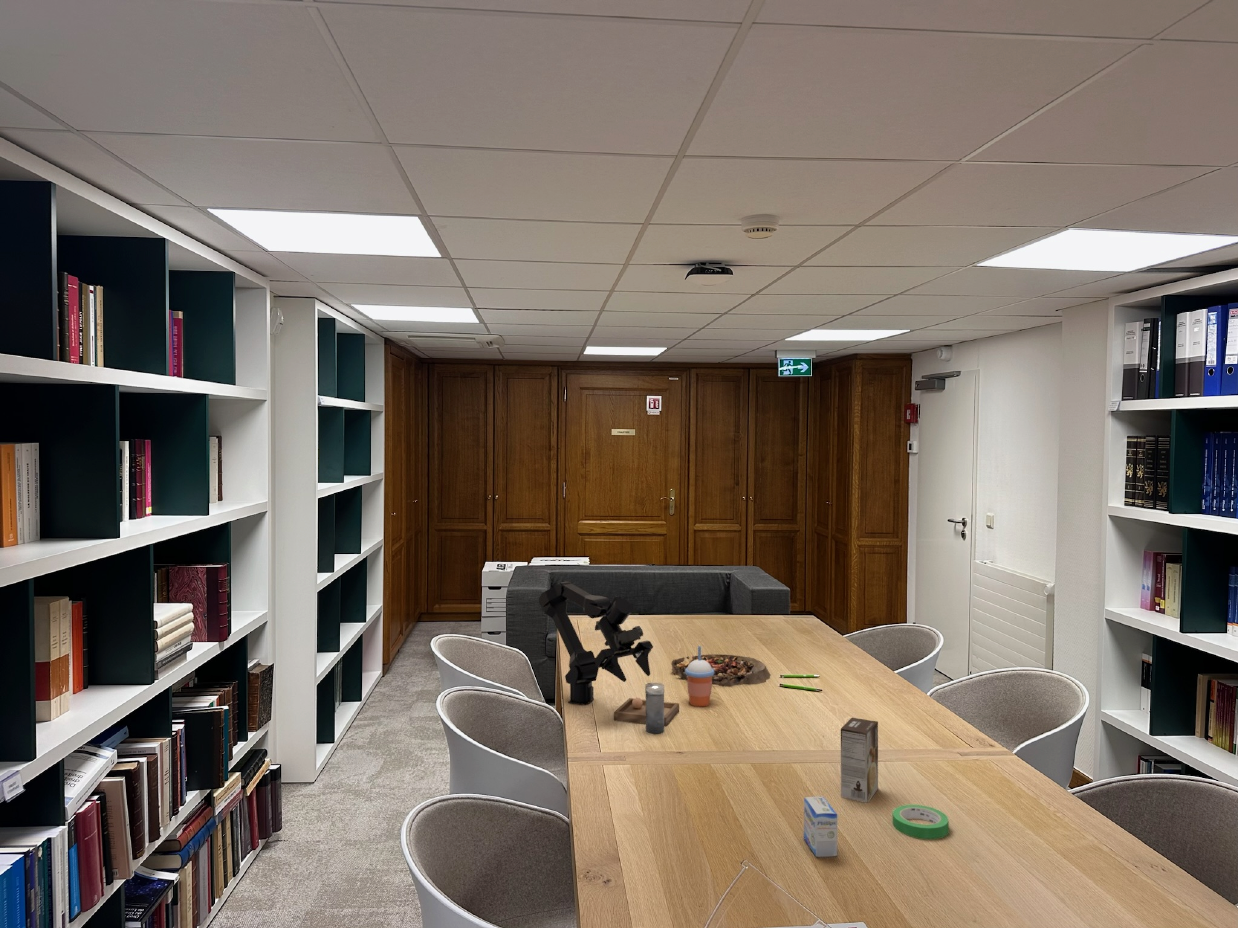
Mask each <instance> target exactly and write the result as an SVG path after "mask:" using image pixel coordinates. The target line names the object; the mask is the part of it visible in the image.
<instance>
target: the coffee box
mask: <svg viewBox="0 0 1238 928" xmlns="http://www.w3.org/2000/svg"><path fill="white" fill-rule="evenodd" d="M878 789H879V721H875V720H869V719H864V718H863V719H862V718H858V717H857V718H856V717H851V718H849V719H848V721H846V723H845V724H844V725H842V727H841V728H840V797H841V798H844V799H849V800H853V801H856V802H857V801H858V802H862V803H866V804H867V803H869V801H870V800H871V798H872V797H873V796H874V795H875V793H876V792H877V791H878Z"/></svg>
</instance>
